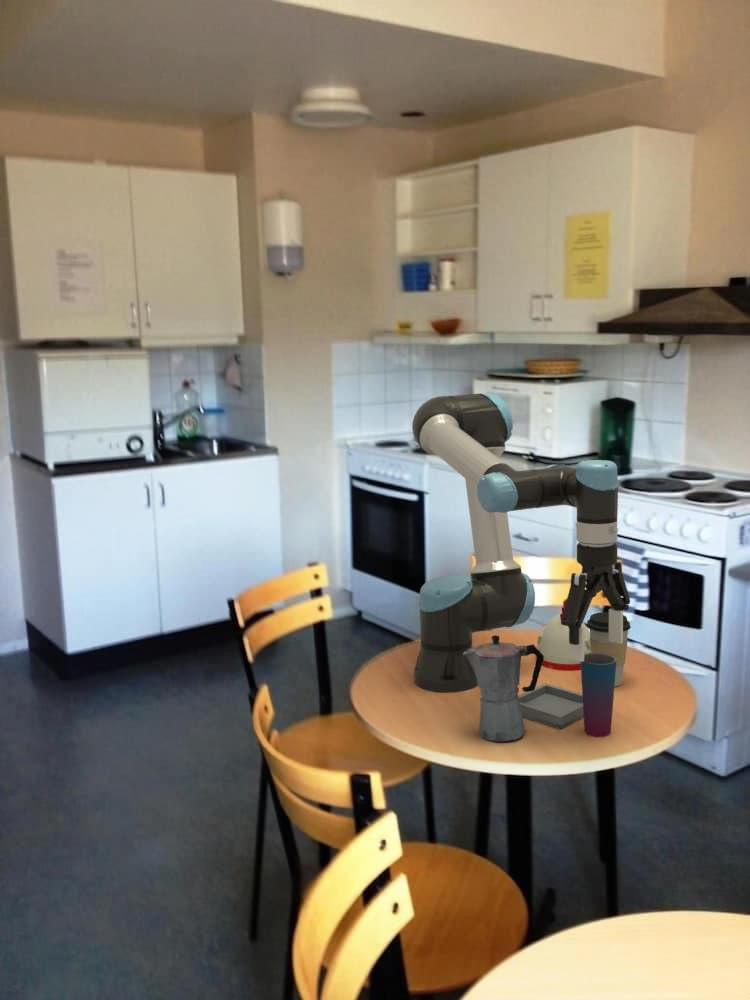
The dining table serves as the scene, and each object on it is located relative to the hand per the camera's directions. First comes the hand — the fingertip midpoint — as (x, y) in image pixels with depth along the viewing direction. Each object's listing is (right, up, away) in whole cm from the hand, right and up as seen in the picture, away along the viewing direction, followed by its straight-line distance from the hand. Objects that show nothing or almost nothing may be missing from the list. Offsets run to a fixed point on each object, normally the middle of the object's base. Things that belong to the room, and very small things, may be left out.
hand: (596, 650), depth 180 cm
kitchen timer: (+3, -9, +43) cm, 44 cm away
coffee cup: (+9, -12, +28) cm, 32 cm away
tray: (-6, -15, +14) cm, 21 cm away
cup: (+1, -16, +3) cm, 17 cm away
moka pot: (-17, -17, +4) cm, 25 cm away
